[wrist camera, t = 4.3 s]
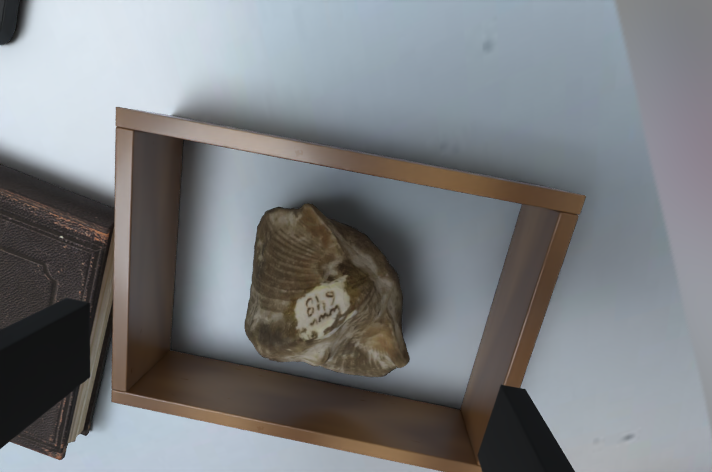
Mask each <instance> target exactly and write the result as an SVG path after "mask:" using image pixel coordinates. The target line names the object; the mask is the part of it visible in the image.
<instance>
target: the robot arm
mask: <svg viewBox="0 0 712 472" xmlns="http://www.w3.org/2000/svg"><path fill="white" fill-rule="evenodd" d="M89 378H90V302H85V301H80V300H74V299H69V298H65V299H63V300H61V301H59V302H57V303H55V304H53V305H51V306H49V307H47V308H44V309H42V310H40V311H38V312H36V313H34V314H32V315H30V316H28V317H26V318H24V319H22V320H20V321H18V322H15V323H13V324H11V325H9V326H7V327H5V328H3V329H1V330H0V449H1V448H2V447H3V446H4V445H6V444H7V443H8V442H9V441H11V440H12V439H13V438H14V437H16V436H17V435H18V434H20V433H21V432H22V431H23V430H25V429H26V428H27V427H28V426H30V425H31V424H32V423H33V422H35V421H36V420H37V419H38V418H40V417H41V416H42V415H43V414H45V413H46V412H47V411H48V410H50V409H51V408H52V407H53V406H55V405H56V404H57V403H58V402H60V401H61V400H62V399H63V398H65V397H66V396H67V395H68V394H70V393H71V392H72V391H74V390H75V389H76V388H77V387H79V386H80V385H81V384H82V383H84V382H85V381H86V380H87V379H89ZM477 456H478V459H479V462H480V466H481V469H482V472H575V471H574V469H573V468H572V466H571V464H570V463H569V461H568V459H567V458H566V456H565V454H564V453H563V451H562V449H561V448H560V446H559V444H558V443H557V441H556V439H555V438H554V436H553V434H552V433H551V431H550V429H549V428H548V426H547V424H546V423H545V421H544V420H543V418H542V416H541V415H540V413H539V411H538V410H537V408H536V406H535V405H534V403H533V401H532V400H531V398H530V396H529V395H528V393H527V391H526V390H525V389H521V388H516V387H511V386H506V385H500V388H499V391H498V394H497V397H496V401H495V404H494V407H493V410H492V413H491V416H490V419H489V422H488V425H487V428H486V431H485V434H484V437H483V440H482V443H481V446H480V449H479V452H478V455H477Z"/></svg>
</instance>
